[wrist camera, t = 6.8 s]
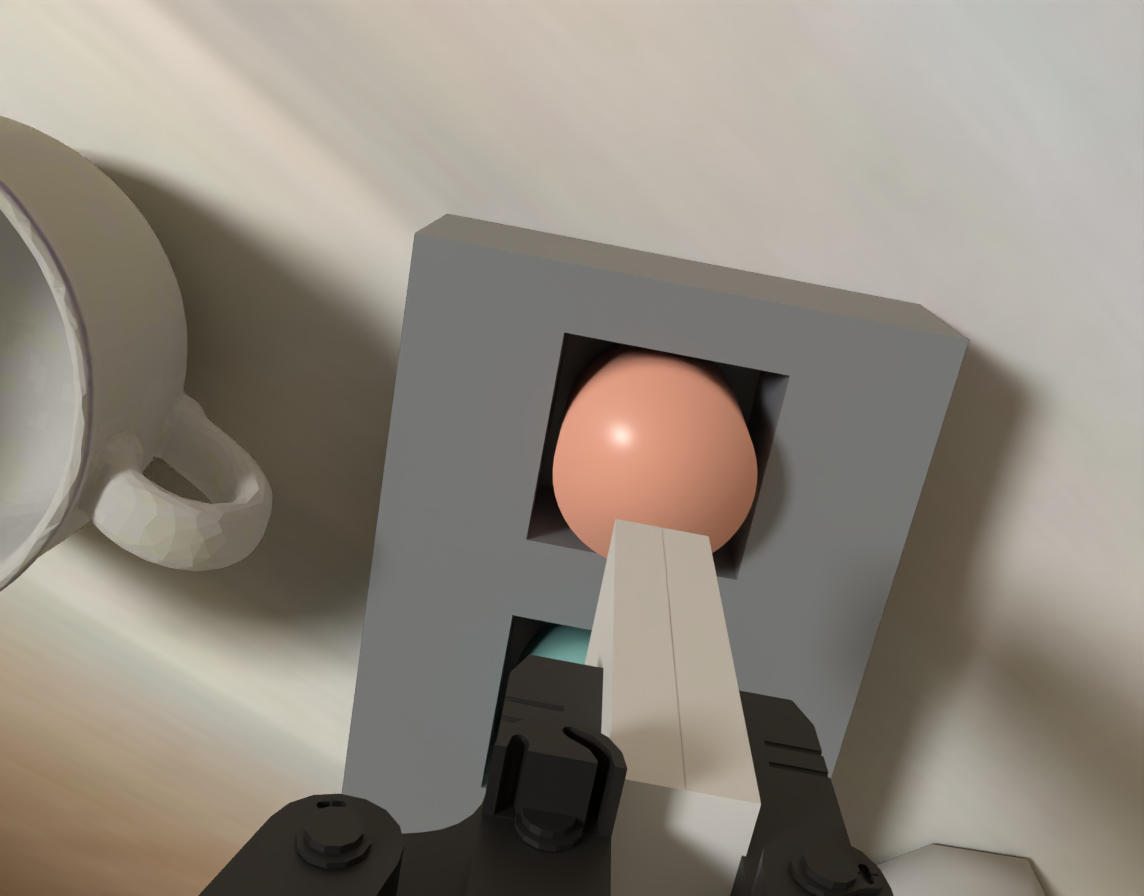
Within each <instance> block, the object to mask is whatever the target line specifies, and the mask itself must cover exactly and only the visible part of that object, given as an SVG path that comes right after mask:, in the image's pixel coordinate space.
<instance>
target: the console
mask: <svg viewBox="0 0 1144 896" xmlns="http://www.w3.org/2000/svg"><path fill="white" fill-rule="evenodd" d="M968 341H969V339H967V338H966V337H965V336H963V335H962V334H960V333H959V332H958V331H956V330H955V329H953V328H952V327H951V326H949V325H948V324H946V323H945V322H944V321H942V320H941V319H939V318H938V317H937V316H935V315H934V314H932V313H931V312H930V311H928V310H927V309H925V308H924V307H923V306H921V305H919V304H914V303H909V302H904V301H898V300H893V299H888V298H883V297H878V296H872V295H867V294H862V293H857V292H852V291H846V290H841V289H836V288H831V287H826V286H820V285H815V284H810V283H805V282H800V281H794V280H789V279H784V278H779V277H774V276H768V275H763V274H758V273H753V272H748V271H742V270H737V269H732V268H727V267H722V266H716V265H711V264H706V263H701V262H696V261H690V260H685V259H680V258H675V257H670V256H664V255H659V254H654V253H649V252H644V251H638V250H633V249H628V248H623V247H618V246H612V245H607V244H602V243H597V242H592V241H586V240H581V239H576V238H571V237H566V236H560V235H555V234H550V233H545V232H540V231H534V230H529V229H524V228H519V227H514V226H508V225H503V224H498V223H493V222H488V221H482V220H477V219H472V218H467V217H462V216H456V215H451V214H446V215H444V216H443V217H441V218H439V219H438V220H436V221H434V222H433V223H431V224H429V225H428V226H426V227H424V228H423V229H421V230H419V231H418V232H416V233H415V235H414V243H413V250H412V258H411V266H410V273H409V281H408V289H407V296H406V304H405V312H404V319H403V327H402V335H401V342H400V350H399V358H398V365H397V373H396V381H395V388H394V396H393V404H392V411H391V419H390V427H389V434H388V442H387V450H386V458H385V465H384V473H383V481H382V488H381V496H380V504H379V511H378V519H377V527H376V534H375V542H374V550H373V557H372V565H371V573H370V580H369V588H368V596H367V603H366V611H365V619H364V626H363V634H362V642H361V649H360V657H359V665H358V672H357V680H356V688H355V695H354V703H353V711H352V718H351V726H350V734H349V741H348V749H347V757H346V764H345V772H344V780H343V787H342V794H344V795H349V796H354V797H358V798H363V799H367V800H368V801H370V802H372V803H374V804H376V805H378V806H379V807H381V808H383V809H385V810H387V811H388V813H389V814H390V815H391V816H392V817H393V819H394V820H395V821H396V822H397V823H398V824H399V826H400V828H401V832H402V834H403V833H419V832H427V831H434V830H441V829H444V828H447V827H450V826H452V825H455V824H458V823H460V822H461V821H463V820H465V819H466V818H468V817H469V816H471V815H472V814H473V813H474V812H475V811H476V810H477V809H478V807H479V806H480V805H481V804H482V802H483V799H484V797H485V793H486V787H487V782H488V776H489V771H490V765H491V760H492V755H493V749H494V744H495V743H496V741H497V736H498V731H499V726H500V721H501V716H502V711H503V706H504V701H505V696H506V691H507V686H508V681H509V675H510V672H511V671H512V670H513V669H514V668H515V667H516V666H517V664H518V660H519V658H520V656H521V653H522V651H523V650H524V648H525V647H526V645H527V643H528V642H529V641H530V640H531V639H532V637H533V636H534V635H535V634H536V633H538V632H539V631H540V630H541V629H542V628H544V627H545V626H547V625H548V624H549V623H556V624H561V625H567V626H572V627H577V628H582V629H587V630H592V627H593V623H594V618H595V613H596V609H597V604H598V599H599V594H600V590H601V585H602V580H603V576H604V571H605V566H606V561H607V558H605V557H603V556H601V555H599V554H598V553H596V552H595V551H593V550H592V549H591V548H589V547H588V546H587V545H586V544H584V543H583V542H582V541H581V540H580V539H579V538H578V537H577V536H576V534H575V533H574V532H573V531H572V530H571V528H570V527H569V525H568V524H567V522H566V521H565V519H564V517H563V515H562V513H561V511H560V509H559V506H558V503H557V500H556V497H555V492H554V486H553V462H554V456H555V451H556V447H557V443H558V438H559V434H560V430H561V425H562V421H563V417H564V412H565V408H566V404H567V400H568V397H569V395H570V392H571V390H572V388H573V386H574V384H575V382H576V381H577V379H578V377H579V376H580V375H581V374H582V372H583V371H584V370H585V369H586V368H587V367H588V366H589V365H590V364H591V363H592V362H593V361H594V360H595V359H597V358H598V357H599V356H601V355H602V354H603V353H605V352H607V351H609V350H611V349H612V348H615V347H617V346H620V345H622V344H627V345H632V346H638V347H643V348H648V349H653V350H658V351H664V352H669V353H674V354H679V355H684V356H690V357H695V358H700V359H705V360H710V361H713V362H714V363H715V364H716V365H717V366H718V367H719V368H720V369H721V370H722V372H723V373H724V374H725V376H726V377H727V378H728V380H729V382H730V384H731V385H732V387H733V389H734V392H735V394H736V397H737V400H738V402H739V405H740V408H741V411H742V414H743V417H744V420H745V423H746V426H747V429H748V432H749V435H750V438H751V441H752V444H753V447H754V451H755V455H756V461H757V486H756V492H755V497H754V500H753V503H752V506H751V508H750V510H749V512H748V514H747V516H746V519H745V520H744V522H743V523H742V525H741V526H740V528H739V529H738V530H737V532H736V533H735V534H734V535H733V536H732V537H731V538H730V540H728V541H727V542H726V543H725V544H724V545H723V546H722V547H720V548H719V549H718V550H716V551H715V552H713V553H712V556H713V561H714V566H715V571H716V576H717V581H718V587H719V592H720V597H721V602H722V607H723V612H724V617H725V622H726V627H727V633H728V638H729V643H730V648H731V653H732V658H733V663H734V668H735V673H736V678H737V684H738V689H739V690H740V691H745V692H751V693H756V694H761V695H767V696H772V697H778V698H783V699H788V700H792V701H793V702H794V703H795V704H796V705H797V706H798V708H799V709H800V710H801V711H802V712H803V713H804V714H805V716H806V717H807V718H808V719H809V720H810V721H811V722H812V724H813V725H814V727H815V730H816V733H817V736H818V740H819V743H820V746H821V749H822V755H821V756H824V759H825V763H826V766H827V769H828V772H829V773H828V778H830V779H831V777H832V774H833V771H834V767H835V764H836V761H837V758H838V755H839V752H840V748H841V745H842V742H843V739H844V736H845V733H846V729H847V726H848V723H849V720H850V717H851V713H852V710H853V707H854V704H855V701H856V698H857V694H858V691H859V688H860V685H861V682H862V678H863V675H864V672H865V669H866V666H867V663H868V659H869V656H870V653H871V650H872V647H873V644H874V640H875V637H876V634H877V631H878V628H879V624H880V621H881V618H882V615H883V612H884V609H885V605H886V602H887V599H888V596H889V593H890V589H891V586H892V583H893V580H894V577H895V574H896V570H897V567H898V564H899V561H900V558H901V554H902V551H903V548H904V545H905V542H906V539H907V535H908V532H909V529H910V526H911V523H912V520H913V516H914V513H915V510H916V507H917V504H918V500H919V497H920V494H921V491H922V488H923V485H924V481H925V478H926V475H927V472H928V469H929V465H930V462H931V459H932V456H933V453H934V450H935V446H936V443H937V440H938V437H939V434H940V431H941V427H942V424H943V421H944V418H945V415H946V411H947V408H948V405H949V402H950V399H951V396H952V392H953V389H954V386H955V383H956V380H957V376H958V373H959V370H960V367H961V364H962V361H963V357H964V354H965V351H966V348H967V345H968Z"/></svg>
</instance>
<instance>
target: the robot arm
mask: <svg viewBox="0 0 1144 896" xmlns="http://www.w3.org/2000/svg"><path fill="white" fill-rule="evenodd" d="M821 755H822V749H821V746H820V743H819V740H818V736H817V733H816V730H815V727H814V725H813V724H812V722H811V721H810V720H809V719H808V718H807V717H806V716H805V714H804V713H803V712H802V711H801V710H800V709H799V708H798V706H797V705H796V704H795V703H794V702H793V701H792V700H788V699H783V698H778V697H772V696H767V695H761V694H756V693H751V692H745V691H740V690H739V689H738V684H737V678H736V673H735V668H734V663H733V658H732V653H731V648H730V643H729V638H728V633H727V627H726V622H725V617H724V612H723V607H722V602H721V597H720V592H719V587H718V581H717V576H716V571H715V566H714V561H713V556H712V551H711V546H710V541H709V536H705V535H699V534H694V533H689V532H683V531H678V530H673V529H667V528H662V527H657V526H651V525H646V524H641V523H635V522H630V521H624V520H619V519H615V524H614V528H613V533H612V538H611V543H610V547H609V552H608V557H607V561H606V566H605V571H604V576H603V580H602V585H601V590H600V594H599V599H598V604H597V609H596V613H595V618H594V623H593V627H592V632H591V637H590V642H589V646H588V651H587V656H586V660H585V665H584V664H579V663H573V662H568V661H562V660H557V659H552V658H546V657H541V656H535V655H529V656H527V657H526V658H525V659H524V660H523V661H522V662H521V663H520V664H519V665H517V666H516V667H515V668H514V669H513V670H512V671H511V672H510V675H509V681H508V686H507V691H506V696H505V701H504V706H503V711H502V716H501V721H500V726H499V731H498V736H497V741H496V743H495V744H494V749H493V755H492V760H491V765H490V771H489V776H488V782H487V787H486V793H485V797H484V799H483V802H482V804H481V805H480V806H479V807H478V809H477V810H476V811H475V812H474V813H473V814H472V815H471V816H469V817H468V818H466V819H465V820H463V821H461V822H460V823H458V824H455V825H452V826H450V827H447V828H444V829H441V830H434V831H427V832H419V833H403V834H402V832H401V828H400V826H399V824H398V823H397V822H396V821H395V820H394V819H393V817H392V816H391V815H390V814H389V813H388V811H387V810H385V809H383V808H381V807H379V806H378V805H376V804H374V803H372V802H370V801H368V800H367V799H363V798H358V797H354V796H349V795H344V794H325V795H312V796H309V797H306V798H303V799H300V800H297V801H294V802H291V803H289V804H287V805H286V806H285V807H283V808H282V809H281V810H279V811H278V812H277V813H275V814H274V815H272V816H271V817H270V818H269V819H268V820H267V821H266V822H265V824H264V825H263V826H262V827H261V828H260V829H259V830H258V831H257V832H256V833H255V834H254V836H253V837H252V838H251V839H250V840H249V841H248V842H247V843H246V844H245V845H244V846H243V848H242V849H241V850H240V851H239V852H238V853H237V854H236V855H235V856H234V857H233V858H232V860H231V861H230V862H229V863H228V864H227V865H226V866H225V867H224V868H223V869H222V871H221V872H220V873H219V874H218V875H217V876H216V877H215V878H214V879H213V880H212V881H211V883H210V884H209V885H208V886H207V887H206V888H205V889H204V890H203V891H202V892H201V893H200V895H199V896H894V895H893V892H892V889H891V887H890V885H889V883H888V882H887V880H886V878H885V877H884V875H883V873H882V871H881V870H880V868H878V867H877V866H876V865H875V864H874V863H873V862H872V861H871V860H870V859H869V858H868V857H867V856H866V855H864V854H863V853H862V852H861V851H859V850H857V849H855V848H854V847H852V846H851V844H850V841H849V838H848V835H847V831H846V828H845V825H844V821H843V818H842V815H841V812H840V808H839V805H838V802H837V799H836V795H835V792H834V789H833V785H832V782H831V779H830V778H828V773H829V772H828V769H827V766H826V763H825V759H824V756H821Z"/></svg>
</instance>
